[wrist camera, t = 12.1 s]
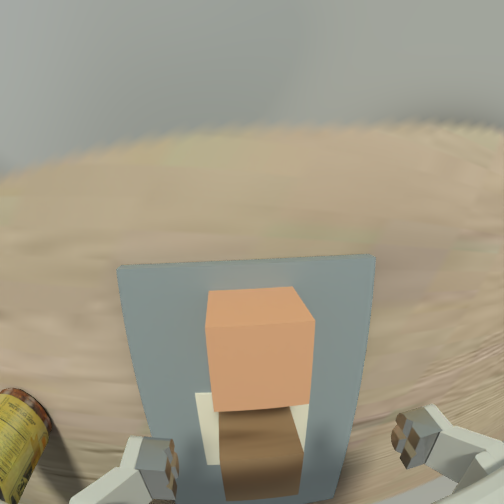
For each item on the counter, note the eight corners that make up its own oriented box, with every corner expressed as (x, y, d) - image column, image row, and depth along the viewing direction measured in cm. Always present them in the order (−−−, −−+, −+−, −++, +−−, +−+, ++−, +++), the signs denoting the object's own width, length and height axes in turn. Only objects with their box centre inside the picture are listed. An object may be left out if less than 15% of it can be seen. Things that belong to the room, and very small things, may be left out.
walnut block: (286, 448, 22) (298, 494, 17) (223, 453, 22) (226, 501, 17) (288, 404, 21) (304, 453, 16) (218, 409, 20) (219, 460, 16)
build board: (330, 491, 26) (333, 499, 25) (179, 504, 25) (178, 512, 23) (369, 253, 20) (377, 258, 19) (121, 265, 19) (115, 270, 18)
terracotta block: (290, 357, 20) (309, 403, 15) (214, 362, 20) (213, 411, 15) (292, 286, 19) (315, 320, 14) (208, 290, 19) (204, 327, 14)
